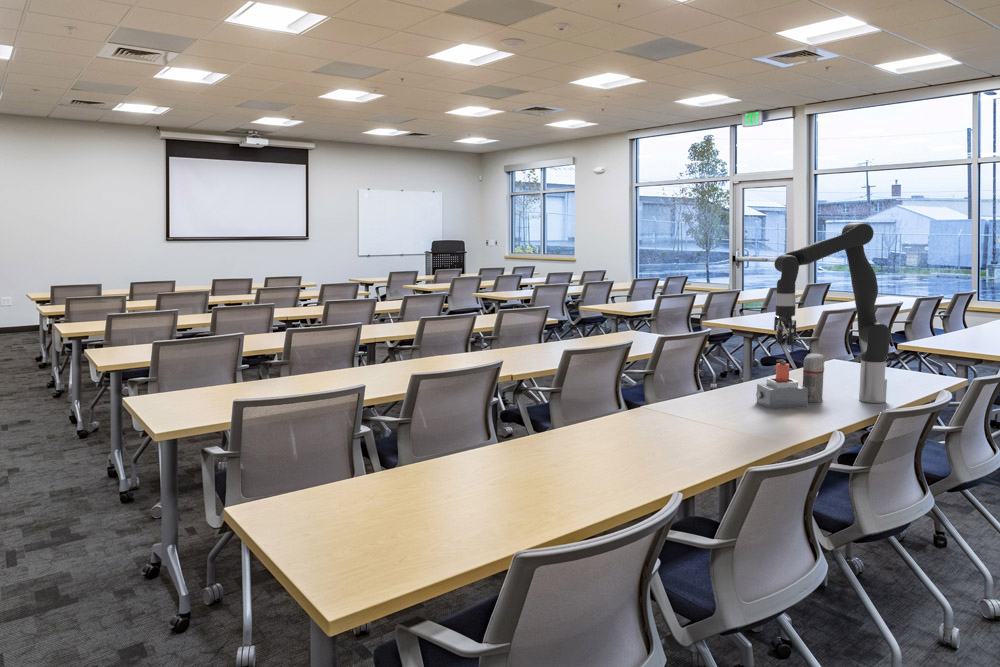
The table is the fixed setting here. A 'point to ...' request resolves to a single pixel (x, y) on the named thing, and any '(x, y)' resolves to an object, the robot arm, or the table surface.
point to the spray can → (813, 376)
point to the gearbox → (782, 394)
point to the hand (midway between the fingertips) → (784, 343)
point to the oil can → (782, 371)
